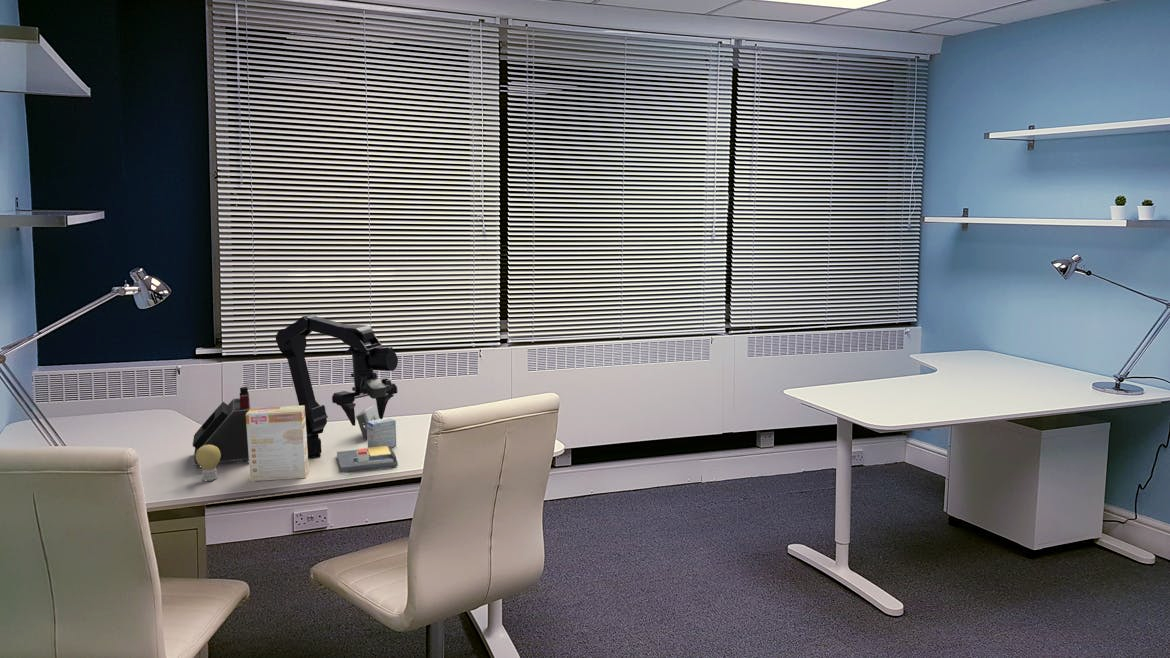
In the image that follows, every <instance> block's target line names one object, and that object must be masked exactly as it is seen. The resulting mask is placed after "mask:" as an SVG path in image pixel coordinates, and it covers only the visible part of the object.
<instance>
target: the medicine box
mask: <svg viewBox="0 0 1170 658" xmlns="http://www.w3.org/2000/svg"><path fill="white" fill-rule="evenodd" d="M396 423H397V421H396V419H394V418H391V417H383V419H380V418H379V419H378V420H373V421H369V422H367V438H366V439H367V440H366V441H367V442H366V443H367V448H368V447H378V446H388V447H391V448H393V447H397V425H396Z"/></svg>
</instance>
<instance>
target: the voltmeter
mask: <svg viewBox="0 0 1170 658" xmlns="http://www.w3.org/2000/svg"><path fill="white" fill-rule="evenodd" d="M248 390H249V389H248V387H247V386H241V387H240V388H239V398H238V397H237V398H232V400H231V401H230V402H229V403H226V402H224V401H222V402H221V403H220V404H219V405H218V407H217V408H216V409H215V410H214V411H213V412H212V413H211V415H209V417H208V418H207V419H206V420H205V422H203V424H201V426H200V427H199V428H198V430H197V431H196V432H195V433H194V434H193V440H192V447H193V448H194V452H193V462H194V465H198V467H199V466H200V465H199V464H198V463H197V461H196V452H197V450H198V449H199V448H200V447H202V446H204V445H214V446H216V447H218V448H219V450H220V453H221V457H220V460H219V462H218V463H222V462H234V461H241V462H242V461H243V462H247V461H249V454H248V440H247V426H246V413H247V412H248V411H249V409H250V408H251V397H250V393H249V391H248ZM243 462H242V463H243ZM247 463H248V462H247Z"/></svg>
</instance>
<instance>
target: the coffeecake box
mask: <svg viewBox="0 0 1170 658" xmlns="http://www.w3.org/2000/svg"><path fill="white" fill-rule="evenodd" d="M246 426H247V440H248V454H249V462H248V464H249V465H248V466H249V477H250V482H258V481H259V482H260V481H275V480H276V481H277V480H280V481H281V480H293V479H294V480H295V479H296V480H297V479H306V478H307V475H308V474H309V472H310V471H309V458H308V451H307V435H306V418H305V405H303V406H299V405H287V406H269V407H267V406H264V407H250V409H249V411H248V412H247V413H246Z"/></svg>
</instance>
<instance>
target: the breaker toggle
mask: <svg viewBox="0 0 1170 658" xmlns="http://www.w3.org/2000/svg"><path fill="white" fill-rule="evenodd" d="M357 450H358V451H357V461H358V462H366V461H369V453H368V451H367V448H366V447H365V448H358V449H357Z"/></svg>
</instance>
